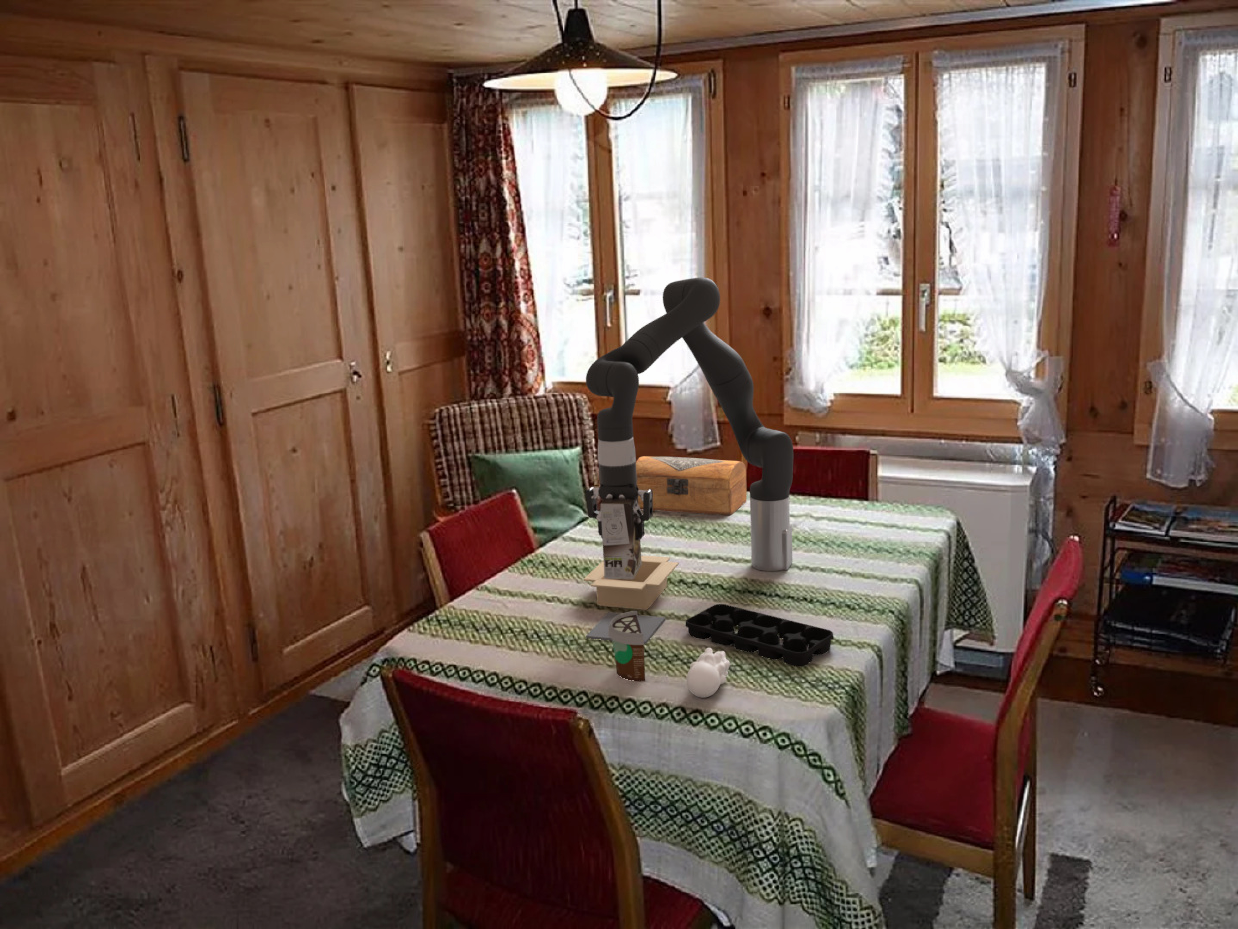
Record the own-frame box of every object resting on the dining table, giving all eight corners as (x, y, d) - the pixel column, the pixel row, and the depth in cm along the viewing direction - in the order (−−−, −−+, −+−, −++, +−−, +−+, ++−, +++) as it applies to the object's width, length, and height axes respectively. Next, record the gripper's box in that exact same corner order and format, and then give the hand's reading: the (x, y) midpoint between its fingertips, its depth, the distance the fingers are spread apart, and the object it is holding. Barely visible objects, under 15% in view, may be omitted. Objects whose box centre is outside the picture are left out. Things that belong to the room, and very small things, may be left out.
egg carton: (815, 673, 201) (815, 654, 200) (671, 648, 216) (670, 631, 215) (844, 638, 216) (844, 621, 215) (708, 617, 230) (707, 600, 229)
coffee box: (634, 580, 217) (630, 503, 213) (603, 579, 219) (598, 503, 215) (642, 564, 226) (639, 490, 222) (612, 564, 227) (608, 490, 223)
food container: (608, 660, 211) (605, 612, 208) (639, 657, 211) (636, 609, 209) (613, 687, 199) (610, 637, 197) (646, 684, 199) (643, 634, 197)
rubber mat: (665, 620, 229) (665, 617, 229) (645, 644, 217) (645, 641, 217) (608, 615, 233) (608, 612, 233) (586, 638, 222) (585, 635, 221)
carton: (683, 582, 250) (682, 558, 249) (655, 616, 231) (654, 589, 230) (612, 577, 256) (611, 553, 255) (580, 609, 237) (578, 583, 236)
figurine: (671, 686, 192) (692, 654, 203) (697, 713, 192) (717, 680, 203) (697, 665, 189) (716, 634, 200) (723, 692, 189) (742, 660, 199)
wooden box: (630, 510, 310) (627, 463, 307) (652, 495, 325) (650, 450, 321) (729, 518, 298) (727, 469, 294) (747, 501, 312) (746, 455, 309)
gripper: (656, 456, 217) (660, 534, 221) (590, 454, 222) (595, 530, 226) (644, 465, 211) (649, 546, 215) (576, 463, 216) (582, 542, 220)
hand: (621, 538), depth 220 cm, fingers closed on coffee box, 7 cm apart
